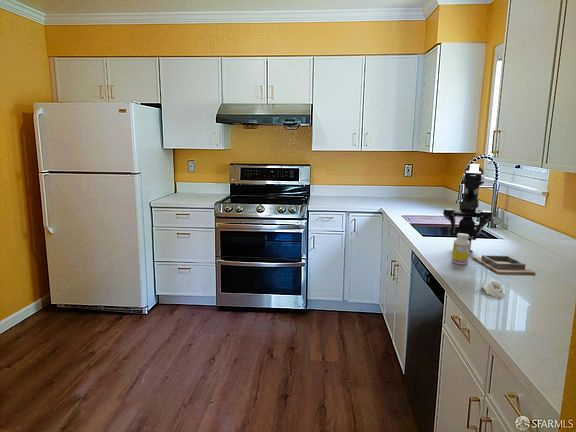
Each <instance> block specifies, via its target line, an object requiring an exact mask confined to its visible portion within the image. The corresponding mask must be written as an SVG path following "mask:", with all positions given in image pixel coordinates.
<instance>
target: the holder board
mask: <svg viewBox="0 0 576 432" xmlns="http://www.w3.org/2000/svg"><path fill="white" fill-rule="evenodd" d="M472 260H473V261H474V262H477V263H479V264H480V265H481V266H483V265H484V267H485V268H487V269H488V270H490V271H492V272H494V273H495V274H497V275H527V276H528V275H531V276H532V275H533V276H534V275H536V274H537V273H536V271H533V270H532V269H530V268H528V267H526V263H524V262H521V261H520V260H517V259H515V258H513V257H512V256H509V255H483V254H482V255H481V256H472Z"/></svg>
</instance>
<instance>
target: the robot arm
mask: <svg viewBox="0 0 576 432" xmlns="http://www.w3.org/2000/svg"><path fill="white" fill-rule="evenodd" d="M484 172H485V171H484V170H483V168H482V167H481V164H480V163H479V164H478V163H470V164H468V167H467V168H465V169H464V173H463V177H462V181H461V182H462V184H463V195H462V201H459V208H458V209H459V211H455V209H454V208H444V210H443V213H442V214H443V216H444V218H445V219H446V220H448V221H449V222H450V225H451V230H452V233H453V234H455V233H456V234H455V239H457V238H458V237H457V234H458V233H464V234H468V235H469V238H468V240H469V241H470V251H469V253H474V250H472V249H471V247H472V241H476V240H477V236H479V235H480V234H481V232H482V230H483V228H484V227H485V226H486V224H489V223H490V222H491V223H492V222H494V214H493V212H492V211H491V210H481V212H477V209H478V208H479V203H480V202H479V199H478V197H479V190H480V186H483V184H485V177H484ZM456 217H460V218H461V217H462V218H461V219H460V220H459V223H458V225H456V222H457V221H456ZM473 218H475V219H476V218H477V219H478V218H479V220H478V221H479V223H478V226H477V228H476V227H475V225H476V224H475V221H474V219H473ZM456 226H457V227H456ZM455 231H456V232H455Z"/></svg>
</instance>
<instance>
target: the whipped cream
mask: <svg viewBox="0 0 576 432" xmlns="http://www.w3.org/2000/svg"><path fill="white" fill-rule="evenodd" d="M484 290H485V291H484ZM480 291H483V292H486V294H487V295H491V296H492V297H495V298H502V297H504V296H505V294H506V292H505V290H504V288H503V285H502V283H500V282H498V281H497V280H489V281H488V283H487V284H483V286H482V287H481V288H480Z"/></svg>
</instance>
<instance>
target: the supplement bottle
mask: <svg viewBox="0 0 576 432" xmlns="http://www.w3.org/2000/svg"><path fill="white" fill-rule="evenodd" d="M457 237H458V238H455V239H454V241H453V246H452V253H451V254H452V255H451V262H452V263H453V264H456V265H460V266H463V265H468V264H469V258H470V257H469V256H470V252H469V251H470V250H471V248H470V241H469V240H468V238H469V235H468V234H464V233H458V234H457Z"/></svg>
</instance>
